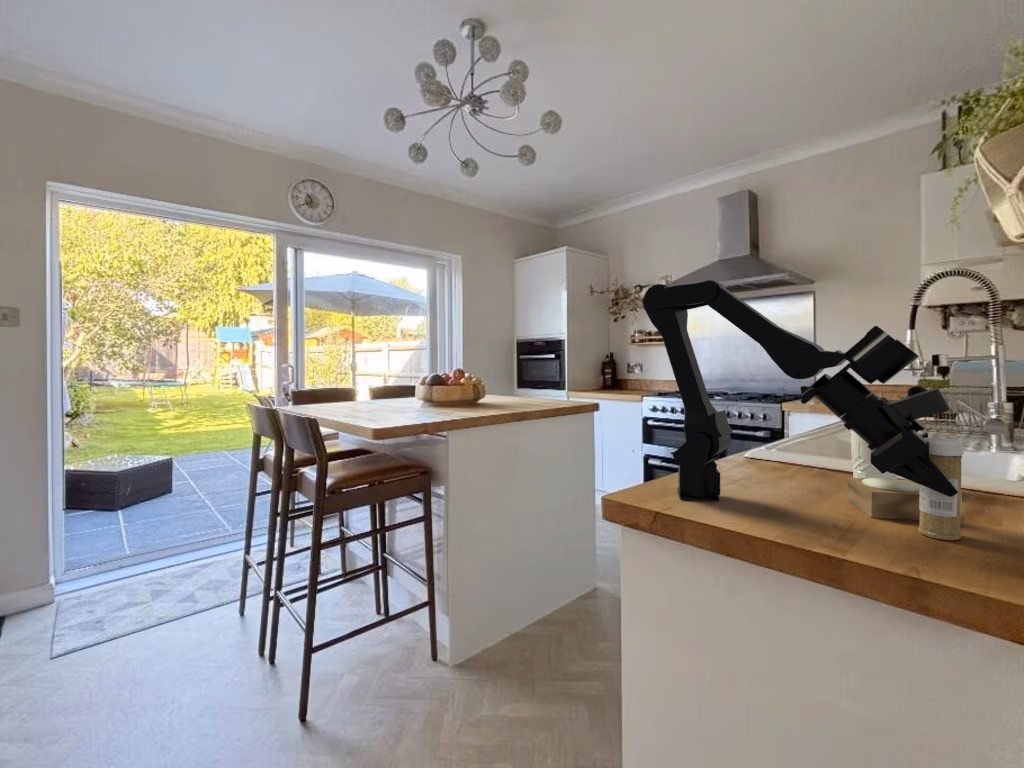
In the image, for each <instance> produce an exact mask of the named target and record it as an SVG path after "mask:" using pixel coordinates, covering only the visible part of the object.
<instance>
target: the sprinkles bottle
mask: <svg viewBox="0 0 1024 768" xmlns="http://www.w3.org/2000/svg"><path fill="white" fill-rule="evenodd" d="M924 439H925V440H926V442H927V441H929V445H930V448H929V457H930V459H931V460H932V461H933V462H934V463H935V465H936V466H937V467H938V468H939V469H940V471H941V472H942V473H943V474H944V475H945V477H946V478H947V479H948V480H949V481H950V482H951V484H952V485H953V486H954V487H955V489H956V490H957V491H958V493H957V494H956V495H954V496H952V497H949V496H947V495H944V494H942V493H939V492H937V491H935V490H932V489H930V488H928V487H925V486H923V485H921V484H919V485H920V497H919V509H920V520H919V525H918V529H917V530H918V532H919V533H920V534H921V535H924V536H925V537H929V538H932V539H936V540H943V541H956V540H957V541H958V540H960V539H961V538H962V534H961V516H962V505H963V504H962V495H963V493H962V459H963V455H964V453H965V452H964V451H965V450H964V448H965V447H964V442H963V441H962V440H960V439H956V438H947V437H946V438H945V437H928V438H924Z"/></svg>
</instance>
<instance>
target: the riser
mask: <svg viewBox="0 0 1024 768" xmlns="http://www.w3.org/2000/svg"><path fill="white" fill-rule="evenodd" d="M846 496H847V502H849V503H850V504H852V505H853V506H854V507H855V508H857V509H859V510H860V511H862V513H864V514H866V515H867V516H868V517H870V518H871V519H872V518H875V519H891V520H909V521H911V520H912V521H920V509H919V497H920V484H918V483H916V482H913V481H911V480H908V479H898V478H897V479H888V478H853V477H847V495H846Z"/></svg>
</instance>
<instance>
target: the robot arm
mask: <svg viewBox="0 0 1024 768" xmlns="http://www.w3.org/2000/svg"><path fill="white" fill-rule="evenodd" d="M641 302H642V307H643V309H644V311H645V313H646V315H647V317H648V319H649V321H650V323H652V325H653V326H654V327H655V329H656V330H657V332H658V333H659V334H660V336H661V337H662V338H661V339H662V341H663V343H664V348H665V350H666V353H667V356H668V360H669V363H670V366H671V367H670V368H671V370H672V373H673V375H674V379H675V382H676V385H677V388H678V391H679V394H680V397H681V401H682V404H683V407H684V418H683V419H684V421H683V430H684V440H685V442H684V443H682V445H681V446H679V448H677V449H675V450H674V452H673V453H672V457H673V459H674V462H675V465H676V466H677V467H678V471H677V472H678V481H677V482H678V487H677V488H676V489H677V490H676V491H677V495H678V497H679V500H682V501H683V500H686V501H704V502H705V501H706V502H719V501H720V498H719V496H721V473H720V471H719V469H718V468H717V467H718V466H717V465H718V464H717V462H715V461H717V460H718V459H719V456H720V454H721V453H722V452H724V451H725V450H726V449H727V448H728V447H729V445H730V443H731V433H733V432H734V430H733V429H732V428H731V426H730V424H729V422H728V416H727V415H728V414H727V411H726V410H725V409H723V410H719V411H717V410H716V408H715V407H714V406H713V404H712V402H711V400H710V397H709V395H708V391H707V387H706V385H705V381H704V377H703V375H702V373H701V369H700V367H699V363H698V360H697V356H696V354H695V351H694V347H693V344H692V341H691V338H690V334H689V332H688V316H689V313H688V312H689V311H688V310H693V309H698V308H702V307H706V306H708V307H710V308H711V309H712V310H713V311H715V312H716V313H718V314H719V315H720V316H722V317H723V318H724V319H725V320H727V321H728V322H729V323H731V324H732V325H734V326H735V327H736V328H738V329H739V330H740V331H742V333H744V334H745V335H747V337H749V338H751V339H752V340H753V341H754V342H756V343H758V344H759V345H760V347H761V348H763V350H764V351H765V352H766V353H767V356H769V357H770V359H771V360H772V361H773V362H774V363H775V365H776V366H777V367H778V368H779V369H780V370H781V371H782V372H783V373H784V374H785V375H786V376H788V377H789V378H792V379H794V380H807V379H809V378H810V379H811V378H813V377H816V376H818V375H820V374H821V373H823V371H824V370H825V369H829V368H830V369H831V368H834V367H839V366H842V365H843V364H844V363H845V362H846V361H847V362H848V364H846V365H845V366H844V367H843V368H841V369H840V370H838V372H837V373H834V375H833V376H830V375H829V374H828V373H824V374H823V375H821V376H820V377H819V378H818V379H816V380H815V382H813V383H812V384H811V385H801V386H800V388H799V389H800V392H801V398H800V403H801V404H802V405H805V404H807V403H809V402H810V401H812V400H813V399H815V398H816V399H817V400H818V401H819V402H820V403H821V404H823V405H824V406H825V407H826V408H827V409H829V411H831V413H833V415H835V416H836V417H837V418H839V419H840V421H841V422H843V423H844V424H843V427H845V429H847V430H848V431H851V430H853V431H854V432H855V433H856V434H857V435H859V436H860V437H861V438H862V439H863V440H864V441H865V442H866V443H868V444H869V445H868V446H867V447H868V448H869V449H870V450H872V452H871V464H872V465H873V466H874V467H876V468H877V469H878V470H879V471H880V472H881V473H882V474H883V473H885V472H889V473H893V474H895V475H897V477H901V478H903V479H905V480H911V481H913V482H915V483H917V484H919V485H920V484H921V485H923V486H925V487H928V488H930V489H932V490H935V491H937V492H939V493H942V494H944V495H947V496H949V497H952V496H954V495H956V494H957V493H958V491H957V490H956V489H955V487H954V486H953V485H952V484H951V482H950V481H949V480H948V479H947V478H946V477H945V475H944V474H943V473H942V472H941V471H940V469H939V468H938V467H937V466H936V465H935V463H934V462H933V461H932V460H931V459H930V457H929V448H930V445H929V441H927V442H926V440H925V439H924V438H929V433H928V431H926V432H923V433H922V434H921V435H920V433H918V432H919V431H921V432H922V431H924V430H926V426H925V425H923V423H922V422H920V421H919V419H923V418H925V417H929V416H931V415H935V414H937V415H941V414H943V413H947V412H949V411H951V407H950V406H949V404H948V402H947V401H946V398H945V397H944V395H943V394H942V392H941V390H940V389H939V387H938V386H937V387H931V388H930V389H927V388H926V387H924V386H922V385H920V384H917V385H915V386H911V387H909V388H908V389H907V396H905V397H901V398H899V399H897V400H894V401H893V400H892V401H890V400H888V399H887V398H886V397H885V396H878V395H876V393H874V392H873V391H872V390H871V389H869V388H868V387H867V386H866V385H865V384H863V383H862V382H861V381H860V380H859V379H857V378H856V377H855V376H854V375H853V374H852V373H850V372H849V371H848V370H850V369H851V370H852V371H853V372H854V373H855V374H856V375H858V376H859V377H860V378H861V379H863V381H865V382H866V383H868V384H870V385H872V384H874V383H875V382H876V381H878V382H879V383H881V384H882V385H883V384H884V385H885V384H886V383H887V382H888V381H889V380H891V379H892V378H893V377H895V376H896V375H897V374H899V373H900V372H902V371H903V370H904V369H905V368H906V367H908V366H909V365H911V364H912V363H913V362H914V361H916V360H918V358H919V357H920V356H919V355H918V354H917V353H916V352H914V351H913V350H912V349H911V348H909V347H908V346H907V345H906V344H905V343H903V342H902V341H900V340H899V339H898V338H896V339H895V338H894V337H893V336H891V335H890V334H888V333H887V331H885V330H883V329H882V328H881V327H879V326H878V325H874V326H873V327H872V328H871V329H869V330H868V331H867V332H866V334H865V335H864V336H862V338H861V339H860V340H858V342H856V343H855V344H854V345H852V346H851V347H850V348H849V349H848V350H846V351H845V352H843V350H835V351H832V350H831V351H830V350H825V349H824V348H823V347H822V346H821V345H819V344H817V343H815V342H813V341H811V340H809V339H807V338H805V337H802V336H801V335H798V334H796V333H794V332H791V331H790V330H787V329H784V328H782V327H780V326H779V325H777V324H776V323H775V322H773V321H772V320H771V319H769V318H768V317H766V316H765V315H763V314H762V313H761V312H759V311H758V310H756V309H755V308H754V307H752V306H751V305H750V304H748V303H747V302H745V301H743V300H742V299H741V297H738V296H737V295H736V294H734V293H733V292H731V291H729V290H728V288H726V286H725V285H724V284H722V283H721V282H718V281H715V280H709V279H707V280H705V281H701V282H696V283H686V284H678V285H672V286H670V285H667V284H660V283H657V284H654V285H651V286H650V287H649V288H648V289H646V291H645V293H644V295H643V297H642V301H641Z"/></svg>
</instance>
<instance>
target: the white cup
mask: <svg viewBox="0 0 1024 768" xmlns="http://www.w3.org/2000/svg"><path fill="white" fill-rule="evenodd" d="M868 445H869V444H868V443H866V442H865V441H864V440H863V439H862V438H861V437H860V436H859V435H857V434H856V433H855V432H854V431H853V430H852V429H850V450H851V451H850V453H851V454H850V455H851V463H852V464H851V466H852V467H851V468H852V470H853V471H852V472H853V473H852V474H853V477H852V478H888V479H898V475H895V474H893V473H889V472H885V473H883V474H882V473H881V472H880V471H879V470H878V469H877V468H876V467H874V466H873V465H872V464H871V452H872V450H870V449H869V448H868V447H867V446H868Z"/></svg>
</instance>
